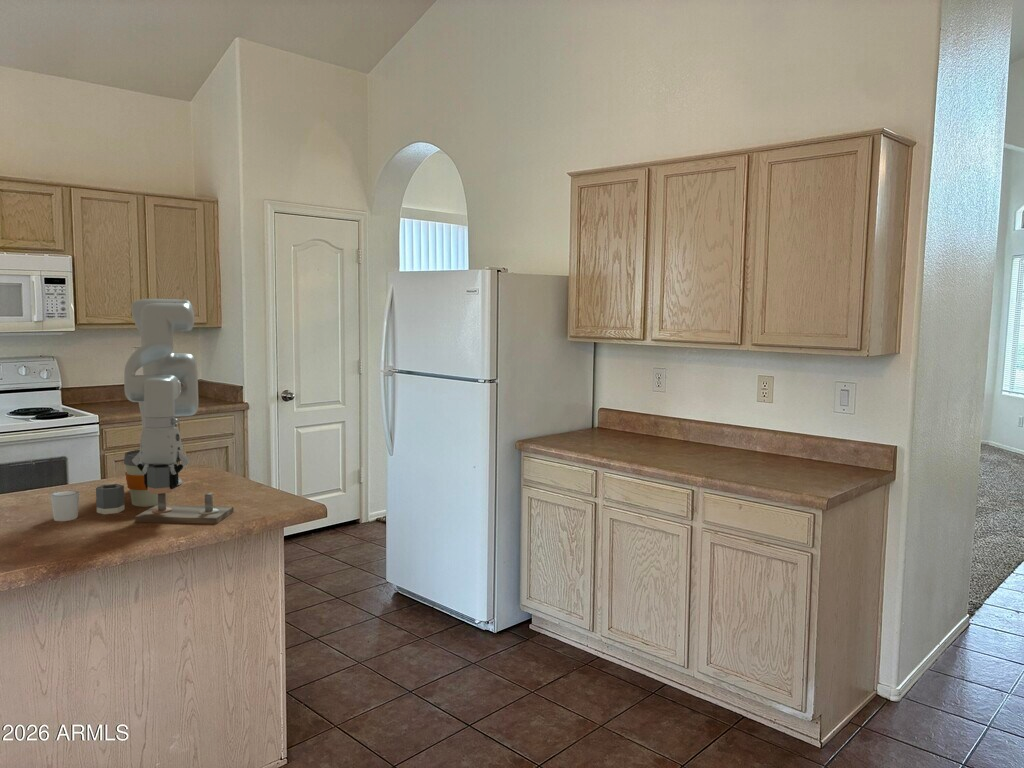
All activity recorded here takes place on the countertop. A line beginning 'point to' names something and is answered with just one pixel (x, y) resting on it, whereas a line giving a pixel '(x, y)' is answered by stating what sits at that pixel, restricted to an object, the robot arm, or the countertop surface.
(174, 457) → the robot arm
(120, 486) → the cream-banded sleeve
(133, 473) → the reusable coffee cup
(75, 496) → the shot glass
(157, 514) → the pin board
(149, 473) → the terracotta-banded sleeve
